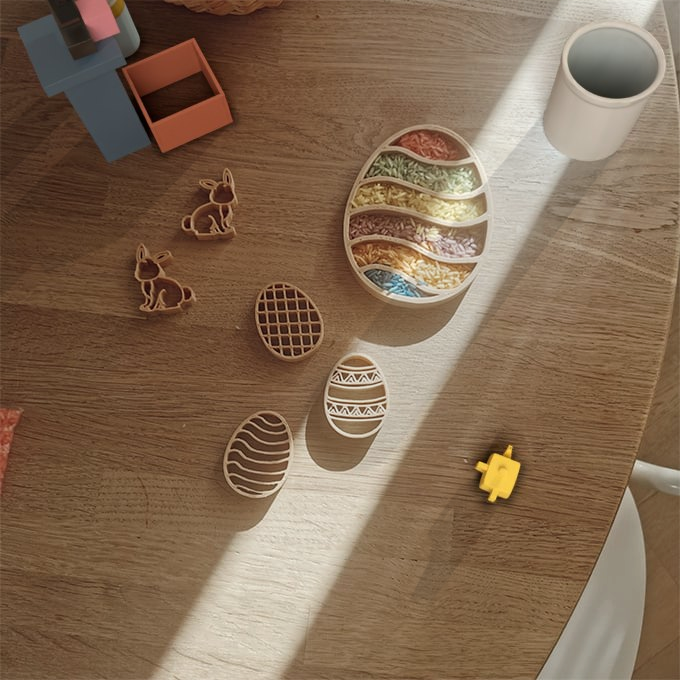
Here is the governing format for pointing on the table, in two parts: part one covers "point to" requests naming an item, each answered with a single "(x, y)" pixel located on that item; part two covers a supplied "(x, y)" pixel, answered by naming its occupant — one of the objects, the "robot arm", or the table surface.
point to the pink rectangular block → (97, 18)
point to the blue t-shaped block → (87, 86)
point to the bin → (167, 71)
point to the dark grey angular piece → (75, 36)
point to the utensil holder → (602, 88)
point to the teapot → (498, 474)
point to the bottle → (124, 28)
